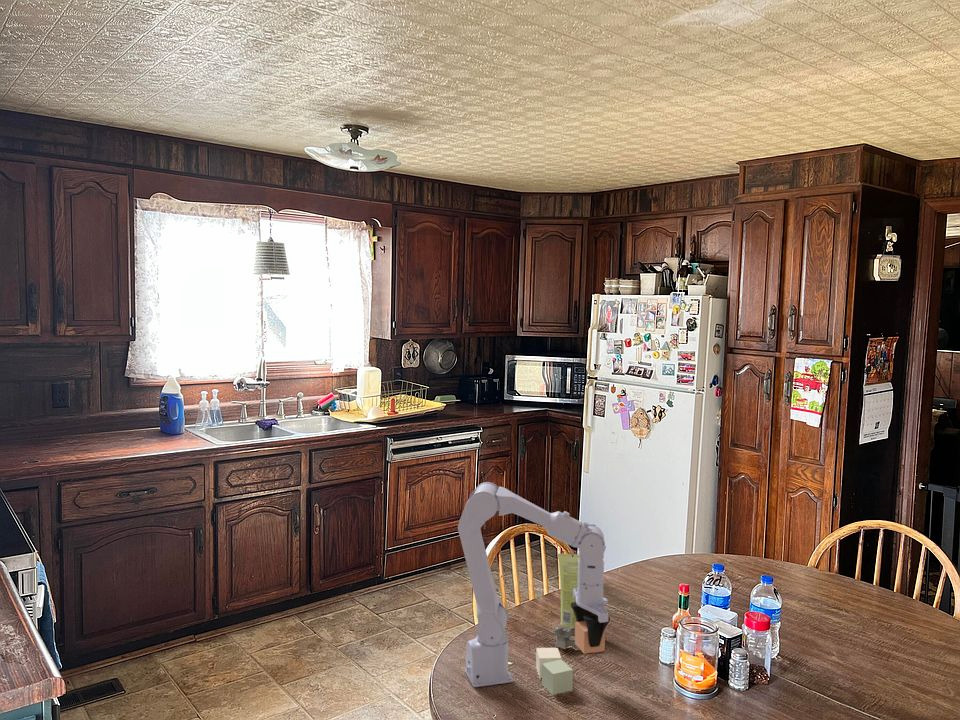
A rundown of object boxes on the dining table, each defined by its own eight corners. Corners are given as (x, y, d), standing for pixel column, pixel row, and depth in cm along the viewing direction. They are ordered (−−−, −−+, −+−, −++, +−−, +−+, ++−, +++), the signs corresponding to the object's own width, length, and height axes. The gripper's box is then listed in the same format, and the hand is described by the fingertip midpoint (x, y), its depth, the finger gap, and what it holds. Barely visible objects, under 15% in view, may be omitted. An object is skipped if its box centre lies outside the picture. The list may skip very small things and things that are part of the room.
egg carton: (554, 651, 178) (554, 635, 178) (553, 637, 186) (553, 622, 186) (598, 652, 178) (598, 636, 177) (595, 638, 185) (595, 623, 185)
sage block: (552, 696, 157) (553, 674, 157) (541, 685, 162) (542, 663, 162) (572, 691, 159) (572, 669, 159) (561, 680, 164) (561, 659, 164)
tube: (571, 619, 196) (572, 549, 195) (585, 625, 192) (586, 554, 191) (556, 625, 193) (557, 553, 191) (570, 631, 189) (571, 558, 187)
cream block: (539, 679, 164) (539, 658, 164) (536, 668, 169) (536, 648, 169) (561, 679, 165) (561, 657, 164) (557, 668, 170) (557, 647, 169)
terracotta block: (583, 653, 159) (584, 631, 159) (574, 643, 164) (575, 622, 163) (604, 650, 160) (605, 629, 160) (595, 640, 165) (595, 619, 165)
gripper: (621, 591, 155) (620, 653, 156) (593, 568, 169) (592, 624, 170) (591, 595, 153) (590, 657, 154) (565, 571, 167) (564, 628, 168)
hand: (589, 640), depth 162 cm, fingers closed on terracotta block, 5 cm apart
